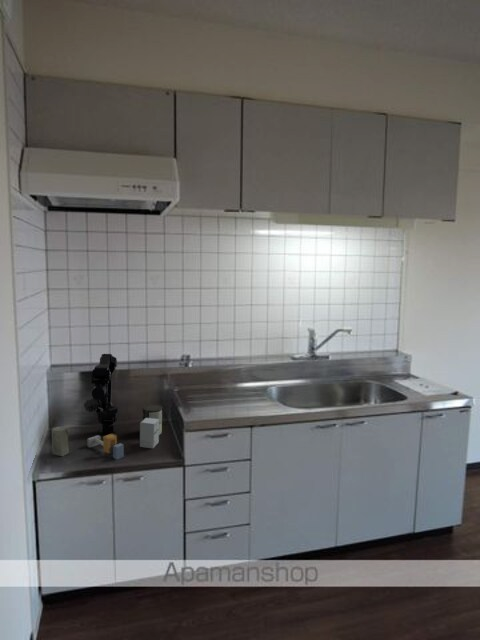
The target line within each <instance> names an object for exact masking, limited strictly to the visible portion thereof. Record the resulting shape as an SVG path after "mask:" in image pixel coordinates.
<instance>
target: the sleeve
mask: <svg viewBox="0 0 480 640" xmlns="http://www.w3.org/2000/svg"><path fill="white" fill-rule="evenodd" d="M117 438H118V437H117V435H116V434H114V433H111V434H108V435H104V436H103V438H102V439H103V440H102V441H103V446H102V448H103V452H104V453H107V454H111V451H110V445H111V446H112V445H117V444H118V441H117V440H118V439H117Z"/></svg>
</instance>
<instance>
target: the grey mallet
mask: <svg viewBox="0 0 480 640" xmlns="http://www.w3.org/2000/svg"><path fill="white" fill-rule="evenodd" d="M101 439H102V438H101V435H94V436H91V437H88V438H87V442H86V443H87V447H88V448H93V447H96V446H99V445H100V446H102V447H103V440H101ZM124 447H125V445H124V444H123V443H117V445H112V446H111V445H110V453H112V454H113V455H112V457H113V459H114V460H120V459H122V458H124V457H125V456H124V455H125V452H124V450H125V448H124Z"/></svg>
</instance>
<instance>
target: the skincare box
mask: <svg viewBox="0 0 480 640" xmlns="http://www.w3.org/2000/svg"><path fill="white" fill-rule="evenodd" d="M51 441H52V442H51V444H52V445H51V446H52V455H55V456H58V457H59V456H60V457H64V456H66V455H68V454H69V453H70V449H69V447H70V446H69V429H68V428H67V427H62V426H56V427H54V428H52V429H51Z"/></svg>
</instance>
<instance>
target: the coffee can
mask: <svg viewBox="0 0 480 640" xmlns="http://www.w3.org/2000/svg"><path fill="white" fill-rule="evenodd" d="M145 418H153V419H159V436H160V435H161V434H162V432H163V428H162V427H163V425H162V424H163V406H162V405H161V404H157V403H149V404H145V405H143V406H142V421H143V420H144V419H145Z"/></svg>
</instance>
